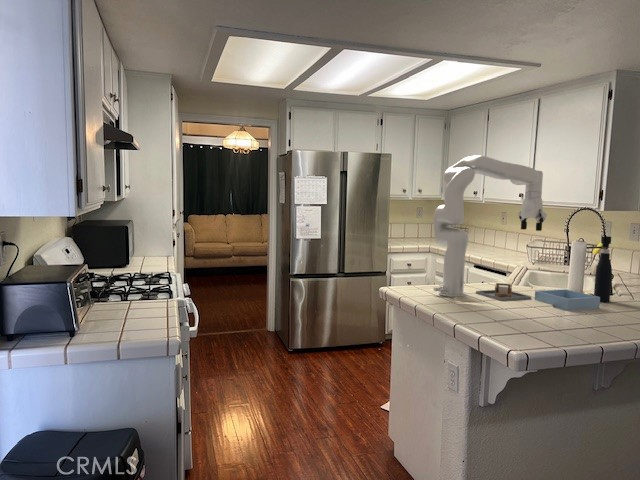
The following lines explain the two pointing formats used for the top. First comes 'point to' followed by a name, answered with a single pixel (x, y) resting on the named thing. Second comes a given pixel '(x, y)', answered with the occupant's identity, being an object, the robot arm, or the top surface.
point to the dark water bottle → (603, 273)
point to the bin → (568, 299)
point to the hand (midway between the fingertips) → (531, 230)
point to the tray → (513, 297)
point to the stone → (503, 289)
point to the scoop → (502, 293)
